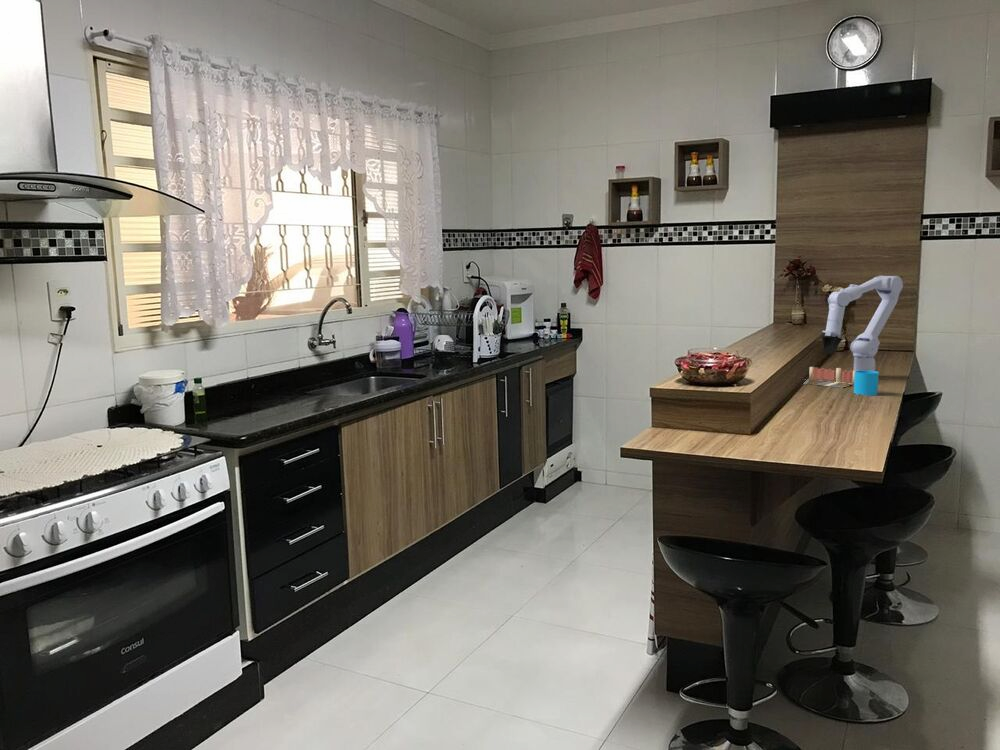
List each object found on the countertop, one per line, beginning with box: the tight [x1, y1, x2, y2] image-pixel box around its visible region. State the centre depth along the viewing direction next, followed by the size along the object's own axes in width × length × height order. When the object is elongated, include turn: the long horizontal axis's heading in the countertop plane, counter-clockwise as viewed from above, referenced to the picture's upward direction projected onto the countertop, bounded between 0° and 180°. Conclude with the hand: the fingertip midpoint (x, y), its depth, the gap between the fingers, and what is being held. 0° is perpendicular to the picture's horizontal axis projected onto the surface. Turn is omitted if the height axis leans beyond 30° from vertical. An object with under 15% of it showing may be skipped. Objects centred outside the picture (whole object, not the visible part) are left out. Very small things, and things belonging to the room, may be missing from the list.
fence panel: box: [808, 366, 836, 381], centre depth 331 cm, size 10×2×5 cm, turn 46°
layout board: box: [802, 378, 852, 389], centre depth 329 cm, size 23×20×1 cm
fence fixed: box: [835, 367, 855, 384], centre depth 324 cm, size 8×2×6 cm, turn 46°
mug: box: [853, 370, 880, 396], centre depth 303 cm, size 12×8×8 cm
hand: (829, 354), depth 333 cm, fingers open, 7 cm apart
